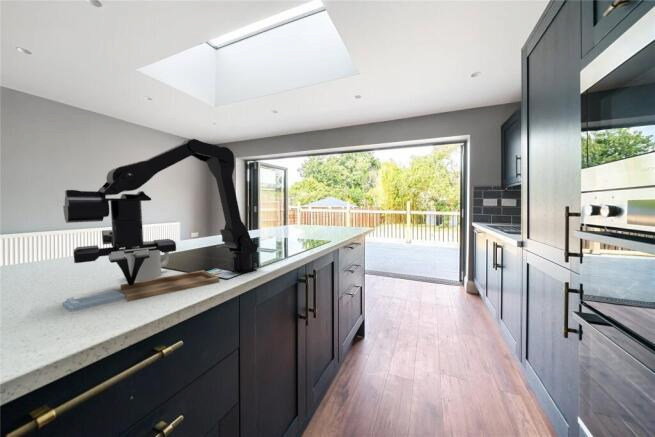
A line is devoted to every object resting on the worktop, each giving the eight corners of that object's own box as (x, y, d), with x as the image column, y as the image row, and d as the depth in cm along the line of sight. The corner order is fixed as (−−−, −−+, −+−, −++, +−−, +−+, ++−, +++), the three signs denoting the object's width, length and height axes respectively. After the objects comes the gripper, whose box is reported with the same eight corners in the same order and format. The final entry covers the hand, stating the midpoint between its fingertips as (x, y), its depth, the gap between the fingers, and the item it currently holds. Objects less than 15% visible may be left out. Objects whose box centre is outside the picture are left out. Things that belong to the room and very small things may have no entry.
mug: (139, 285, 71) (137, 245, 70) (119, 282, 74) (117, 244, 73) (178, 274, 82) (176, 240, 81) (159, 272, 85) (158, 239, 84)
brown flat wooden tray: (203, 276, 79) (203, 270, 79) (219, 284, 71) (219, 277, 71) (120, 292, 65) (120, 284, 65) (127, 305, 57) (127, 296, 57)
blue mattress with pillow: (115, 298, 62) (115, 287, 62) (125, 303, 59) (124, 292, 59) (63, 311, 55) (62, 299, 55) (70, 317, 51) (70, 305, 51)
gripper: (164, 217, 73) (167, 271, 74) (71, 221, 60) (76, 286, 61) (175, 218, 65) (178, 279, 66) (71, 223, 52) (76, 298, 53)
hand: (130, 285), depth 62 cm, fingers closed
